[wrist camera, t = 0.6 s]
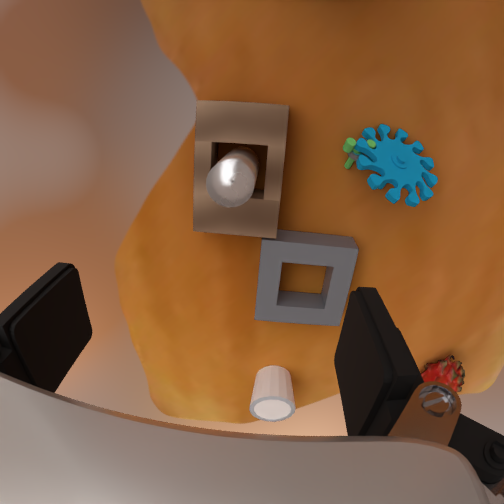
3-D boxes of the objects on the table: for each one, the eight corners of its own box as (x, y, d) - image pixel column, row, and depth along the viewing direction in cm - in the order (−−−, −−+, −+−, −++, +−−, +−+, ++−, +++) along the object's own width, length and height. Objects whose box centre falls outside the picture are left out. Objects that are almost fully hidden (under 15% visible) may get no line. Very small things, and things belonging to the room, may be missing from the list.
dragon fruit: (455, 338, 46) (413, 375, 52) (439, 351, 41) (392, 391, 47) (480, 372, 41) (435, 407, 47) (467, 391, 36) (416, 426, 42)
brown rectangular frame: (205, 101, 32) (196, 100, 28) (287, 106, 31) (289, 105, 28) (201, 218, 38) (193, 231, 34) (275, 225, 38) (276, 238, 34)
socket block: (263, 228, 38) (261, 239, 35) (352, 237, 38) (358, 249, 34) (255, 303, 43) (254, 319, 39) (335, 310, 42) (339, 325, 39)
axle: (225, 145, 34) (206, 159, 25) (260, 147, 34) (256, 162, 25) (223, 179, 36) (205, 205, 27) (258, 182, 35) (252, 209, 26)
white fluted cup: (301, 381, 49) (303, 414, 43) (265, 394, 51) (263, 426, 45) (281, 357, 47) (281, 391, 40) (244, 371, 49) (240, 404, 42)
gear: (441, 147, 30) (438, 216, 27) (417, 172, 36) (409, 238, 32) (357, 103, 31) (339, 168, 27) (341, 135, 36) (321, 198, 33)
